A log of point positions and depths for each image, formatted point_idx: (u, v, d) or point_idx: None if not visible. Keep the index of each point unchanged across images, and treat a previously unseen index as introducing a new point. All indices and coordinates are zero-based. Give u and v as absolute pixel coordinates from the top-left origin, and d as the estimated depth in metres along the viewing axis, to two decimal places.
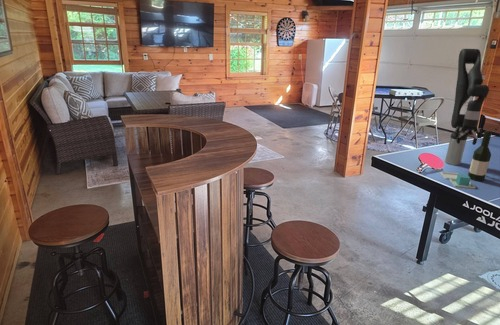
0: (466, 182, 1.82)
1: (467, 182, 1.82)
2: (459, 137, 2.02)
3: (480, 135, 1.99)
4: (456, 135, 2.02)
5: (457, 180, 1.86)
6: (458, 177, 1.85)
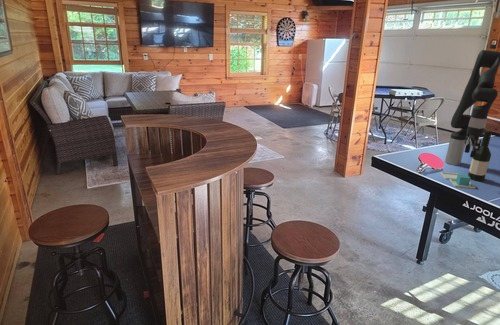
0: (466, 182, 1.82)
1: (467, 182, 1.82)
2: None
3: None
4: None
5: (457, 180, 1.86)
6: (458, 177, 1.85)
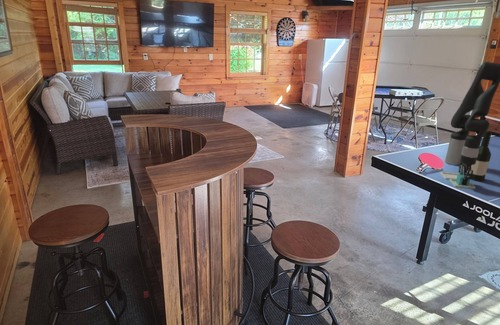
0: None
1: (467, 182, 1.82)
2: (468, 178, 1.81)
3: None
4: None
5: (457, 180, 1.86)
6: (458, 177, 1.85)
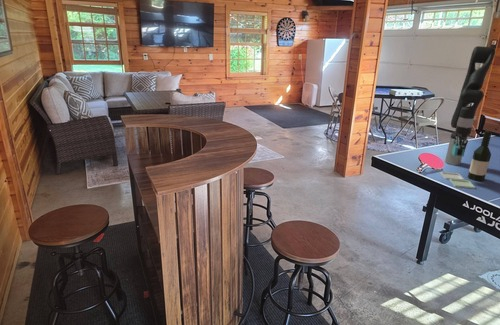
0: None
1: (462, 152, 1.88)
2: (463, 148, 1.87)
3: None
4: None
5: (452, 151, 1.92)
6: (453, 148, 1.91)
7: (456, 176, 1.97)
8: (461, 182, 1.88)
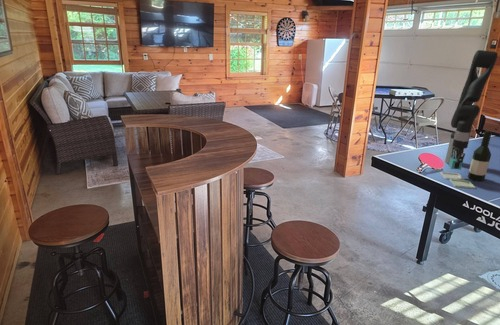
0: (459, 165, 1.91)
1: (459, 165, 1.91)
2: None
3: None
4: (462, 161, 1.87)
5: (450, 164, 1.95)
6: (451, 161, 1.94)
7: (456, 176, 1.97)
8: (461, 182, 1.88)
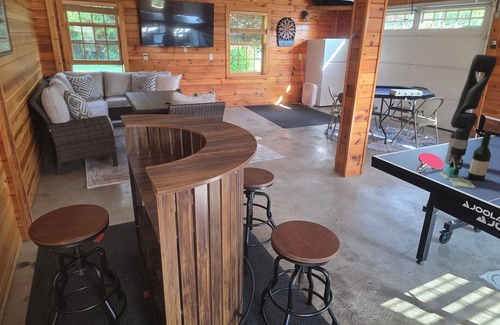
0: (456, 175, 1.93)
1: None
2: (459, 168, 1.89)
3: None
4: None
5: (447, 173, 1.97)
6: (448, 170, 1.96)
7: None
8: (461, 182, 1.88)
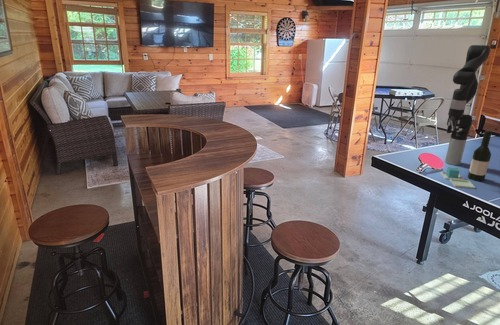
0: (456, 175, 1.93)
1: (456, 174, 1.93)
2: None
3: None
4: None
5: (447, 173, 1.97)
6: (448, 170, 1.96)
7: None
8: (461, 182, 1.88)
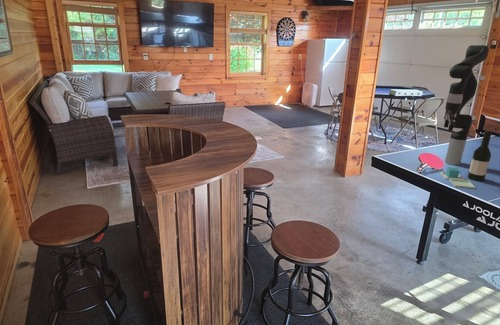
0: (456, 175, 1.93)
1: (456, 174, 1.93)
2: None
3: None
4: (456, 122, 1.86)
5: (447, 173, 1.97)
6: (448, 170, 1.96)
7: None
8: (461, 182, 1.88)
